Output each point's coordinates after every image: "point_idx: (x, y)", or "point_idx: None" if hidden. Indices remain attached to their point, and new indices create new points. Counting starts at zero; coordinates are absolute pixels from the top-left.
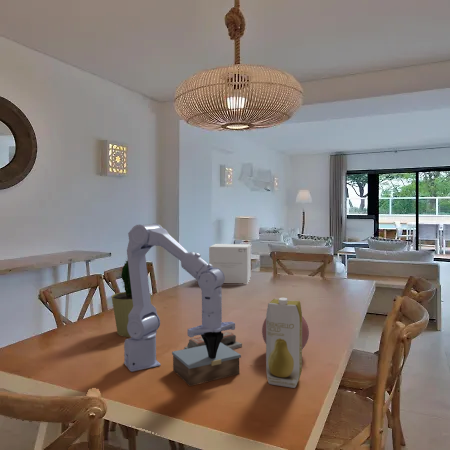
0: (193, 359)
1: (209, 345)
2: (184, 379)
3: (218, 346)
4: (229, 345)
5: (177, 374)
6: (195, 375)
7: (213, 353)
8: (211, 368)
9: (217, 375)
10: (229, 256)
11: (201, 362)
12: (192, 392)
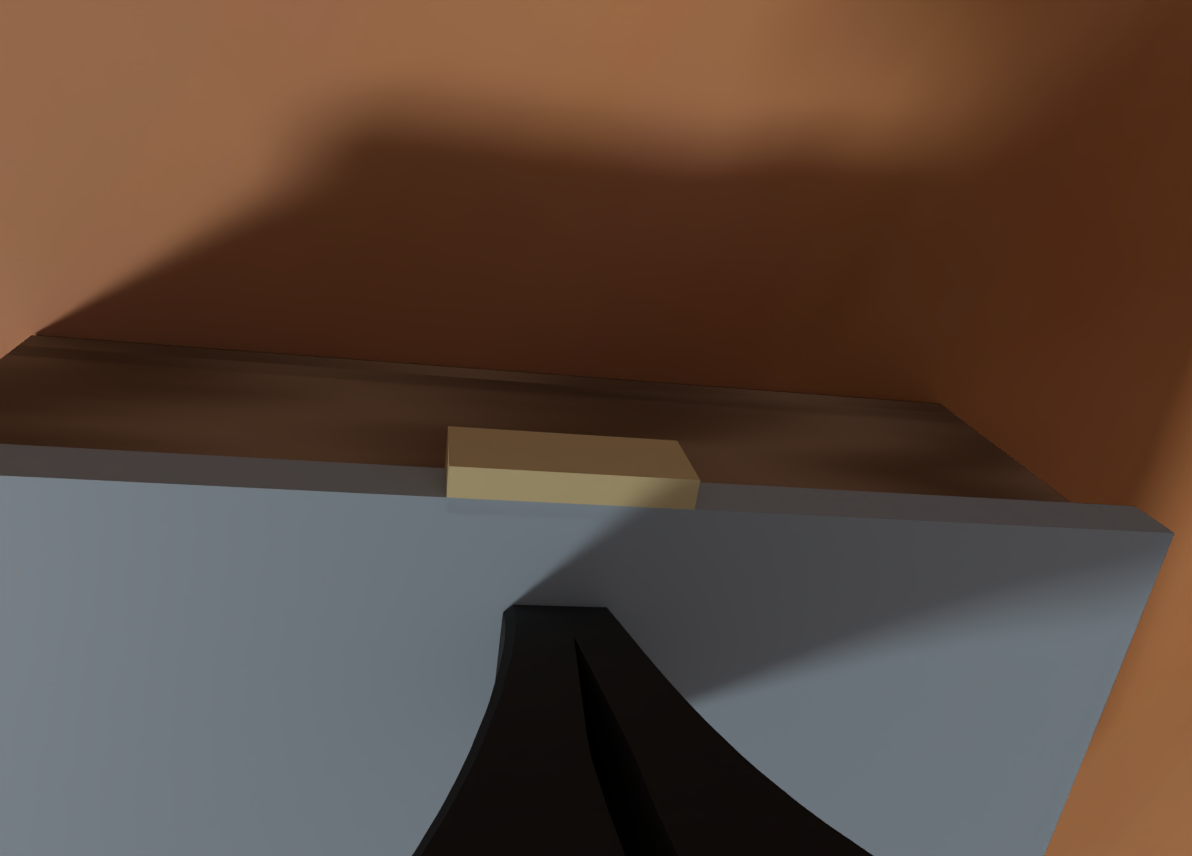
0: (906, 746)
1: (816, 832)
2: None
3: (473, 763)
4: None
5: None
6: (916, 454)
7: (602, 661)
8: None
9: (493, 390)
10: None
11: (895, 556)
12: (1042, 211)
